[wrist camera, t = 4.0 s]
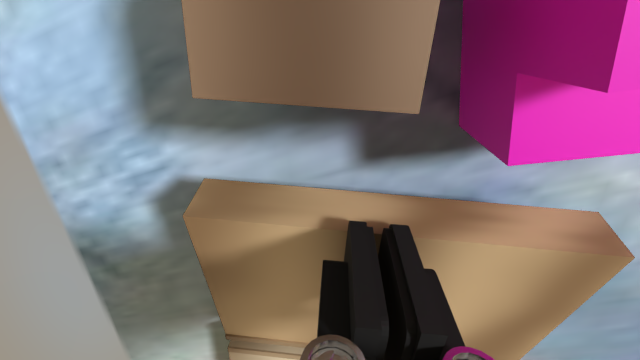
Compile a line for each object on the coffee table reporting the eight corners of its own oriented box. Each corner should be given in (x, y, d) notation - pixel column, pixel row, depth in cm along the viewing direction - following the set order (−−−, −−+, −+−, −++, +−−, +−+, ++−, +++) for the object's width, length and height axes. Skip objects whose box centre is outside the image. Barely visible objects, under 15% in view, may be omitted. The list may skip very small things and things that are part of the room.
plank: (598, 212, 11) (637, 260, 9) (496, 329, 17) (510, 371, 15) (204, 178, 12) (181, 218, 10) (238, 302, 17) (226, 339, 16)
